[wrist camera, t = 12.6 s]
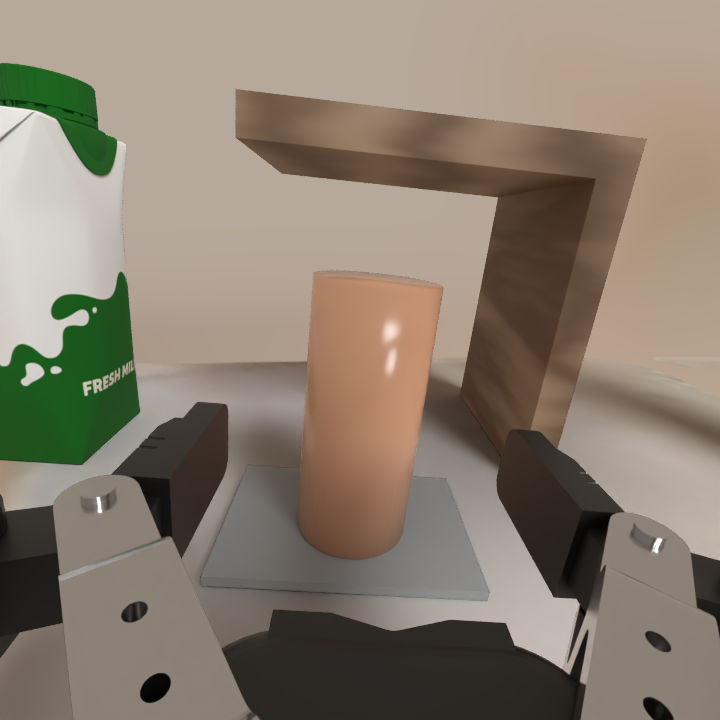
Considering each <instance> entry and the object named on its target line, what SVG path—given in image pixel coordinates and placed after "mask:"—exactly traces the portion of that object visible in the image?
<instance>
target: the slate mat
mask: <svg viewBox="0 0 720 720" xmlns="http://www.w3.org/2000/svg"><path fill="white" fill-rule="evenodd" d="M299 481H300V468H287V467H273V466H259V465H248V466H247V468H246V471H245V473H244V475H243V478H242V480H241V483H240V485H239V487H238V490H237V492H236V494H235V497H234V499H233V501H232V504H231V506H230V508H229V511H228V513H227V516H226V518H225V520H224V523H223V525H222V527H221V530H220V532H219V534H218V537H217V539H216V542H215V544H214V546H213V549H212V551H211V553H210V556H209V558H208V560H207V563H206V565H205V568H204V570H203V572H202V575H201V586H215V587H234V588H253V589H272V590H291V591H310V592H329V593H348V594H367V595H386V596H405V597H424V598H443V599H462V600H481V601H487V600H488V596H489V589H488V586H487V584H486V581H485V579H484V576H483V573H482V571H481V568H480V566H479V563H478V560H477V558H476V555H475V553H474V550H473V547H472V545H471V542H470V540H469V537H468V534H467V532H466V529H465V527H464V524H463V521H462V519H461V516H460V513H459V511H458V508H457V506H456V503H455V500H454V498H453V495H452V493H451V490H450V487H449V485H448V482H447V480H446V478H431V477H417V476H412V481H411V488H410V494H409V500H408V506H407V512H406V518H405V524H404V530H403V534H402V536H401V539H400V540H399V542H398V543H397V544H396V545H395V546H394V547H393V548H392V549H391V550H389V551H388V552H386V553H384V554H382V555H379V556H376V557H373V558H368V559H360V560H352V559H343V558H338V557H334V556H331V555H328V554H326V553H324V552H321V551H320V550H318V549H316V548H315V547H313V546H312V545H311V544H310V543H309V542H308V541H307V540H306V539H305V538H304V537H303V535H302V534H301V532H300V530H299V527H298V524H297V511H298V496H299Z"/></svg>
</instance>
